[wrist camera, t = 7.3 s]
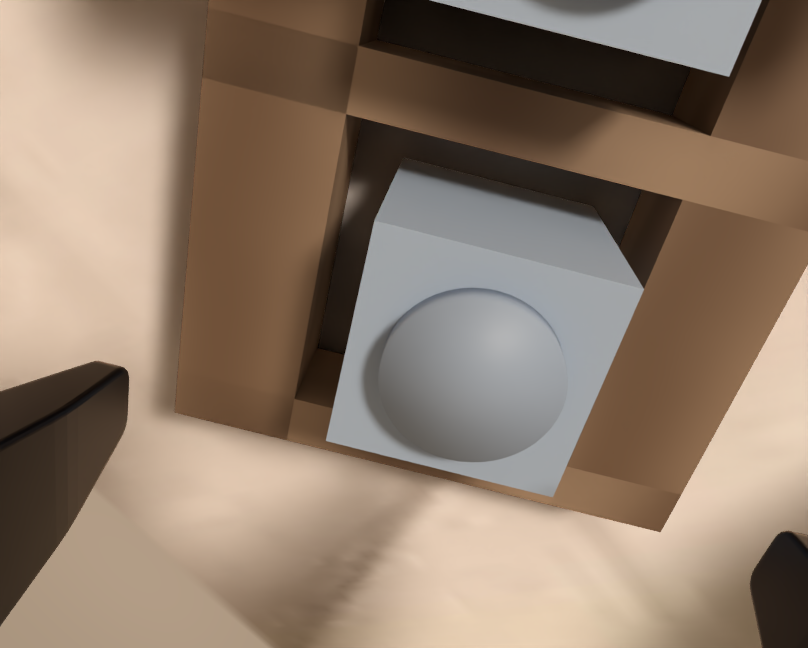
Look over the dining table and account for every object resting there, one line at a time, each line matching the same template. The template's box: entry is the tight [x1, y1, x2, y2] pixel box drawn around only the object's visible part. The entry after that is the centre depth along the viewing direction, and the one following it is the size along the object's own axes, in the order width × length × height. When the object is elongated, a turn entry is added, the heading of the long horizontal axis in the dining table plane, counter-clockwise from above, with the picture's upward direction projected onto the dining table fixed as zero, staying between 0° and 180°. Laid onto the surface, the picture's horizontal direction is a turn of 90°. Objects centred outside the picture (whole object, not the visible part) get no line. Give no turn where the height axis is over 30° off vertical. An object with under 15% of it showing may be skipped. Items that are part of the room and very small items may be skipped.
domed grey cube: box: [326, 157, 644, 497], centre depth 14 cm, size 4×4×6 cm
